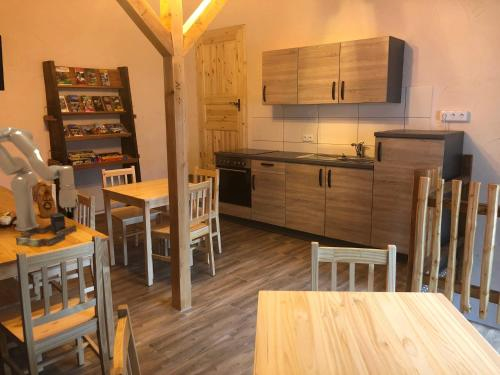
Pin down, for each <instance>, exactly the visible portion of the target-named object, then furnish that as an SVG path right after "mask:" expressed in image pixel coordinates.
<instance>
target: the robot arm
mask: <svg viewBox="0 0 500 375" xmlns="http://www.w3.org/2000/svg"><path fill="white" fill-rule="evenodd" d="M33 140H34V135H33V133H32V132H31V131H30V130H28V129H26V128H18V127H11V126H0V170H1V171H2V172H3V174H4V175H7V176H13V178H12V179H11V181H10V188H11V191H12V192H11V193H12V195H13V200H14V206H15V207H14V208H15V214H16V219H15V220H14V221H13V222H12V224H13V225H15V227H14V230H15V231H17V232H24V231H26V230H29V229H32V228H34V227H40V224H39V223H38V222H37V221H36V220H37V218H36V212H35V205H34V197H33V193H32V191H31V189H32V188H34V187H35V186H37V184H38V177H40V178H41V179H42V180H44V181H47V182H51V181H53V180H55V179H59V186H58V187H59V188H60V189H59V191H58V192H59V193H58V204H59V207H61V208H62V209H64V210H65V212H66V214H67V219H69V220H71V219H73V218H74V212H75V210H77V209H79V198H78V192H77V190H76V187H75V186H76V185H75V176H74V168H73V166H71V165H57V164H56V165H55V164H53V165H49V166H48V165H47V164H46V163H45V162H44V160H43V158H42V157H41V156H42V155H41V152H42V151H41V148H40V146H38V145H37V143H35V142H34V141H33ZM6 142H7V143H12V144H13V146H14V147H16V148H17V150H18V151H20V152H21V154H23V155H24V156H25V157H26V159H27V160H28V162H27V161H26V160H25V159H24V158H23V157H20V156H12V155H11V153H10V152H9V151H8V149H7V148H6V147H5V146H3V145H2V143H6ZM28 163H29V164H28ZM36 174H37V175H36ZM14 175H15V176H14Z"/></svg>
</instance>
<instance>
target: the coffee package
mask: <svg viewBox="0 0 500 375" xmlns="http://www.w3.org/2000/svg"><path fill="white" fill-rule="evenodd" d="M40 185H41V186H40V187H39V189H38V191H37V207H38V213H39V215H40V216H41V217H42V219H47V218H48V219H50V214H55V213H57V208H56V203H55V202H56V201H55V199H54V197H53V194H52V192H51V190H50V188H49V187H48V186H47V182H45V181H43V180H41V181H40Z"/></svg>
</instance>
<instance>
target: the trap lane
mask: <svg viewBox="0 0 500 375" xmlns="http://www.w3.org/2000/svg"><path fill="white" fill-rule="evenodd" d="M65 228H66V229H63V230H61V231H59V232H56V235H55V236H52V237H50V238H45V237H43V238H40V239H37V238H32V237H31V236H35V235H36V234H37V235H38V234H39V235H40V234H41V235H45V234H47V233H49V232H52V228H51V223H50V224H47V225H45V226H43V227H42V226H39V227H34V228H32V229H29V230H26V231H20V236H19V235H18V236H17V237H15V242H16V245H19V246H21V245H22V246H29V247H37V248H41V247H44V246H45V247H46V246H48V247H51V246H53V245H56V244H58V243H60V242H62V241H65V240H66V236H68V235H71V234H73V233H75V232H76V231H77V226H76V224H74V225H73V224H72V225H71V226H68V227H65ZM74 231H75V232H74ZM72 232H73V233H72ZM70 233H71V234H70Z"/></svg>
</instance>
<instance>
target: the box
mask: <svg viewBox="0 0 500 375" xmlns="http://www.w3.org/2000/svg"><path fill="white" fill-rule="evenodd" d="M65 218H66V217H65V215H64V214H63V213H61V212H56V213H55V214H50V218H49V219H50V224H51V228H52V231H51V233H53V234H54V235H55V236H56V232H59V231H61V230H63V229H66V228H67V227H66V221H65V220H66V219H65Z"/></svg>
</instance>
